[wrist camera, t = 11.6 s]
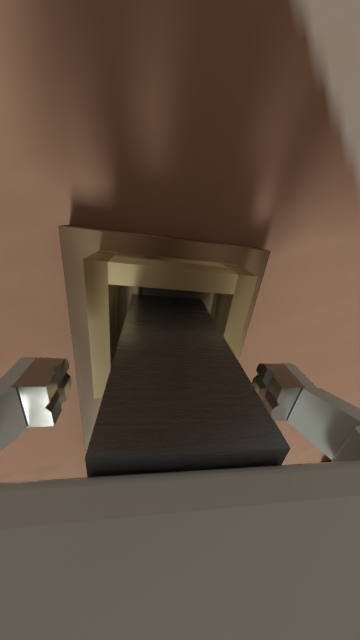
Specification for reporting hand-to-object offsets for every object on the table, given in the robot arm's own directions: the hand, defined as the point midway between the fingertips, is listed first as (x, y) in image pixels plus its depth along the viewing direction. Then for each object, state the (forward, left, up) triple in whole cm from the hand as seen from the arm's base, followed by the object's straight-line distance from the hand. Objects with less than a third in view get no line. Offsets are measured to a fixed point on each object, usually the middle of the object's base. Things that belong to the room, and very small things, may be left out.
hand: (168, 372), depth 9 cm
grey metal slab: (0, 0, -4) cm, 4 cm away
